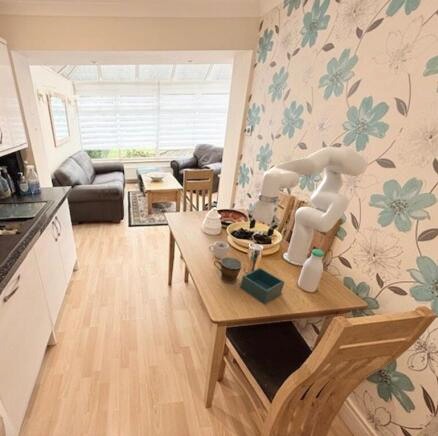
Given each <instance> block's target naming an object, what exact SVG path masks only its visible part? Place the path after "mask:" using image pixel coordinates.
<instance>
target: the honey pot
mask: <svg viewBox="0 0 438 436" xmlns="http://www.w3.org/2000/svg"><path fill="white" fill-rule="evenodd" d="M217 209H218V208H217V207H216V206H215V207H212V208H211V209H210V210H209V211H208V212H207V213H206V215H205V217H204V220H203V222H202V228H201V230H202V232H203V233H205V234H207V235H210V236H212V235H213V236H214V235H215V236H216V235H219V234H221V233H222V226H223V225H222V222H221V221H222V220H221V218H222V215H221V214H220V213H219V212H218V210H217Z"/></svg>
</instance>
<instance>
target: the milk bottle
mask: <svg viewBox="0 0 438 436" xmlns="http://www.w3.org/2000/svg"><path fill="white" fill-rule="evenodd" d="M310 253H311V254H310V256H309V257H308V258H307V259H308V260H307V261H306V262H305V263H304V265H303V266H302V268H301V271H300V274H299V277H298V280H297V287H298V288H299V289H301V290H303V291H305V292H308V293H314V292H316V291H317V290H318V287H319V284H320V281H321V278H322V275H323V272H324V264H323V258H324V256H325V251H323V250H321V249H317V248H313V249H312V250H311V252H310Z"/></svg>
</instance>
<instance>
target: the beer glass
mask: <svg viewBox="0 0 438 436" xmlns="http://www.w3.org/2000/svg"><path fill="white" fill-rule="evenodd" d="M263 253H264V247H263V245H261V244H259V243H250V244H249V246H248V249H247V252H246V266H245V269H244V271H245V273H246V274H248V273H250V272H252V271H254V270H256V269H258V268H259V265H260V262H261V260H262V257H263Z"/></svg>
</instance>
